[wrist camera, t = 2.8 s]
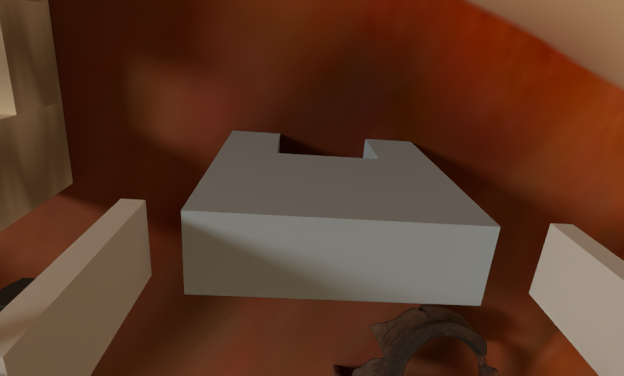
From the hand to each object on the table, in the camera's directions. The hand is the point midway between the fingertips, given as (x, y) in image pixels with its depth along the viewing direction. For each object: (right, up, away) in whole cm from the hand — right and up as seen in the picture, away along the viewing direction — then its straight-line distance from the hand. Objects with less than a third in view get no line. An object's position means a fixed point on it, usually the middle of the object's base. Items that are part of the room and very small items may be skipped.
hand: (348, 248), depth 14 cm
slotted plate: (-1, +4, +10) cm, 11 cm away
